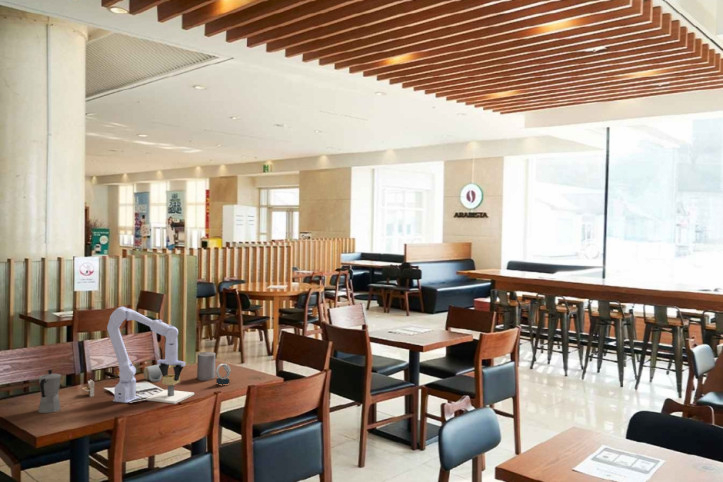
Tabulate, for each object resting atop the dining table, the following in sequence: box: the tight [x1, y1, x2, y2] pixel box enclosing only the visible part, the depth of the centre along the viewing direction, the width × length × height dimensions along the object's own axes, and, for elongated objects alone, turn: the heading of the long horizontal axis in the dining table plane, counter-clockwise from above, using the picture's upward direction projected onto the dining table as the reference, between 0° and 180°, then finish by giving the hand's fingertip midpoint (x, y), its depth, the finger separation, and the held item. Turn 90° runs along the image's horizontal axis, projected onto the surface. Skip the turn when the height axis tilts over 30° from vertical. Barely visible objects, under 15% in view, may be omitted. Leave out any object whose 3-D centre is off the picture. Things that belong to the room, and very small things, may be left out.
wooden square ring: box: [161, 373, 181, 386], centre depth 282 cm, size 6×6×4 cm
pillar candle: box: [196, 351, 217, 381], centre depth 320 cm, size 10×10×15 cm
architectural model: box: [82, 379, 95, 398], centre depth 283 cm, size 3×7×7 cm, turn 43°
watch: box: [215, 363, 232, 385], centre depth 308 cm, size 6×8×11 cm
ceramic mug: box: [143, 364, 163, 383], centre depth 314 cm, size 11×8×8 cm
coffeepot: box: [38, 369, 62, 414], centre depth 258 cm, size 15×9×18 cm, turn 6°
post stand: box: [145, 384, 195, 404], centre depth 282 cm, size 16×16×6 cm
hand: (171, 379), depth 282 cm, fingers closed on wooden square ring, 6 cm apart
